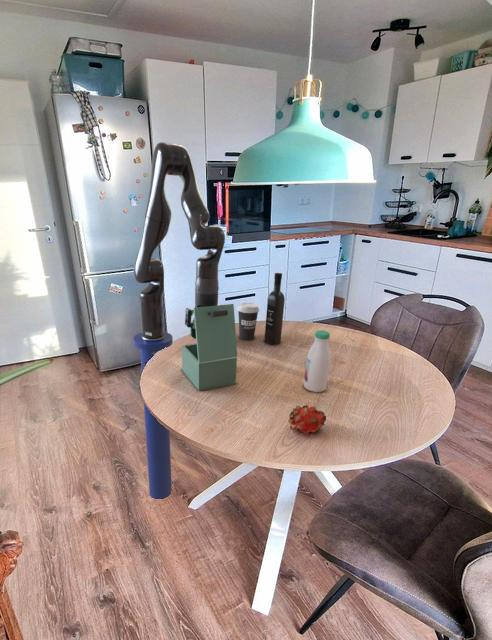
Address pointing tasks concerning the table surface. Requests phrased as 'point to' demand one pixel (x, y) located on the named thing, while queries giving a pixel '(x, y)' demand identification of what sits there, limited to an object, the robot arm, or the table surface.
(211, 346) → the green box lid
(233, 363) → the green rectangular box
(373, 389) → the table surface
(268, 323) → the wine bottle
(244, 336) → the coffee cup
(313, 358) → the milk bottle
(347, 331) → the table surface
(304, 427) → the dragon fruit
